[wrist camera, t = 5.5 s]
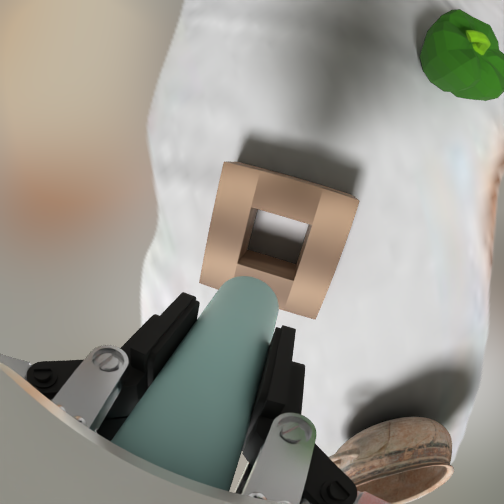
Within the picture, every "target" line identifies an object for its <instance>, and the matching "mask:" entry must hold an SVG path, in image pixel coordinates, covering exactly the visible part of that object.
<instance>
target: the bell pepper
mask: <svg viewBox="0 0 504 504" xmlns="http://www.w3.org/2000/svg"><path fill="white" fill-rule="evenodd" d="M420 60H421V64H422V68H423V71H424V73H425V74H426V76H427V77H428V79H429V80H430V82H431V83H433V84H434V85H436V86H437V87H438V88H440V89H441V90H443V91H446V92H451V93H452V94H454V95H455V96H456V97H460V98H466V99H473V100H484V101H487V100H491V99H495V98H498V97H499V96H500V95H501V94H502V93H503V92H504V54H503V53H502V52H501V51H500V50H499V46H498V41H497V39H496V36H495V34H494V32H493V30H492V28H491V26H490V25H488V24H486V23H484V22H482V21H480V20H478V19H476V18H474V17H472V16H470V15H468V14H467V13H465V12H463V11H462V10H460V9H458V10H451V11H449V12H447V13H445V14H443V15H442V16H441V17H440V18H439V19H438V20H437V21H436V22H435V23H434V24H433V25H432V27H431V28H430V29H429V30H428V31H427V34H426V37H425V40H424V44H423V47H422V50H421V54H420Z"/></svg>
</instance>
